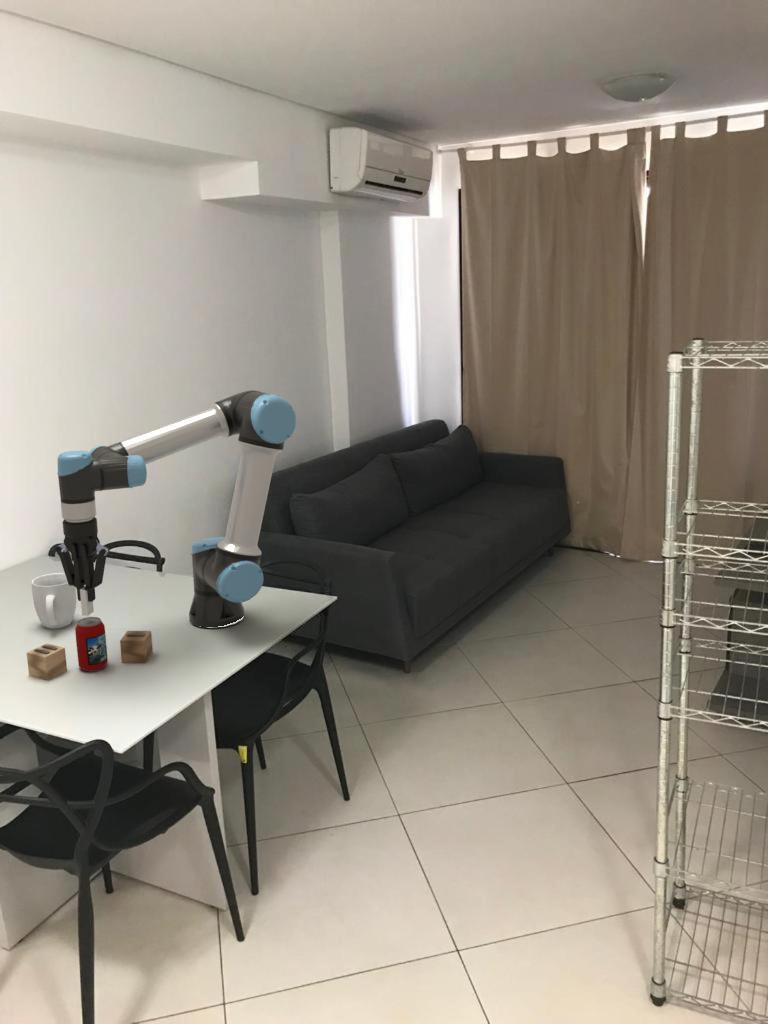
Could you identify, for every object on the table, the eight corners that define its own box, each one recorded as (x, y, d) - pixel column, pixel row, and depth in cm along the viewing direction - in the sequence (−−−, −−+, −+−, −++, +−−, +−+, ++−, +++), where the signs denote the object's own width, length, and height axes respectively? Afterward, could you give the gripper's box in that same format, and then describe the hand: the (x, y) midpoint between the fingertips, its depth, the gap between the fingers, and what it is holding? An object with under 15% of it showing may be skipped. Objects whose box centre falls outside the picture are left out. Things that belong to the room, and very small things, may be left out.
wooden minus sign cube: (152, 652, 211) (151, 629, 209) (146, 663, 205) (144, 639, 203) (129, 652, 211) (127, 629, 209) (121, 663, 205) (119, 639, 203)
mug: (74, 635, 221) (70, 589, 218) (30, 639, 218) (25, 592, 215) (81, 615, 235) (76, 571, 232) (39, 618, 233) (34, 574, 229)
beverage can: (99, 674, 199) (94, 627, 196) (73, 671, 200) (68, 625, 197) (113, 662, 205) (109, 616, 202) (88, 660, 206) (84, 614, 203)
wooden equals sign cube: (67, 670, 201) (64, 646, 199) (47, 680, 196) (45, 656, 194) (48, 666, 203) (46, 642, 202) (29, 675, 198) (26, 651, 196)
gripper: (113, 515, 195) (120, 609, 201) (62, 512, 198) (71, 606, 204) (97, 523, 188) (105, 621, 194) (44, 520, 191) (54, 617, 197)
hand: (87, 613), depth 199 cm, fingers closed
